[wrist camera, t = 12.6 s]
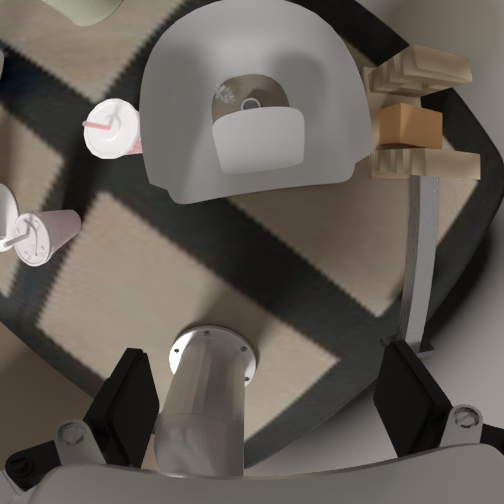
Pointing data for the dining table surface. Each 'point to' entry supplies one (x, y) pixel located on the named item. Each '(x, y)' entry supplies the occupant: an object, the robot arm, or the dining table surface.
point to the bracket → (409, 92)
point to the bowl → (251, 103)
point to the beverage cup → (113, 129)
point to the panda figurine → (7, 216)
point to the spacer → (410, 127)
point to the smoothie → (42, 234)
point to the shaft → (418, 264)
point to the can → (85, 10)
